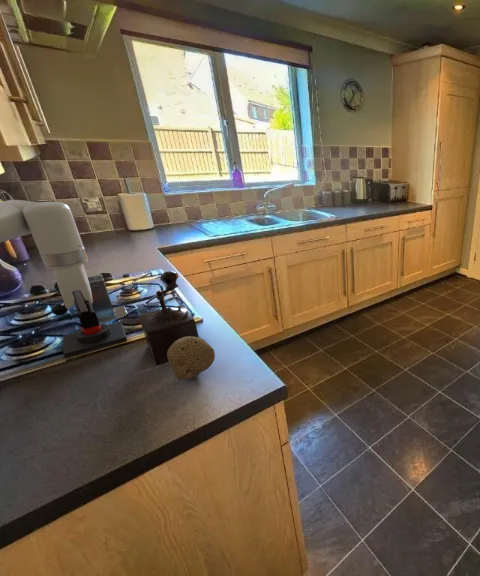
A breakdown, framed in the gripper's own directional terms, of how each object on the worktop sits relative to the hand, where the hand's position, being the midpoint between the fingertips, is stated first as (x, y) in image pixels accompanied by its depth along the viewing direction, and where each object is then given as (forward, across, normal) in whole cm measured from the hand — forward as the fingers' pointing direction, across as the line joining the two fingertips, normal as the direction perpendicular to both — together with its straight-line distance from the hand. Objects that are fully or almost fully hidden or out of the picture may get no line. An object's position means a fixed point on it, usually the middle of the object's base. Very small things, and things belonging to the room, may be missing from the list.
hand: (91, 325), depth 83 cm
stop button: (+2, 0, 0) cm, 2 cm away
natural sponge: (+6, +29, +16) cm, 33 cm away
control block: (+5, 0, 0) cm, 5 cm away
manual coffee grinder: (+6, +12, +15) cm, 20 cm away
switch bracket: (+5, -14, +3) cm, 15 cm away
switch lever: (-2, -14, -1) cm, 14 cm away
